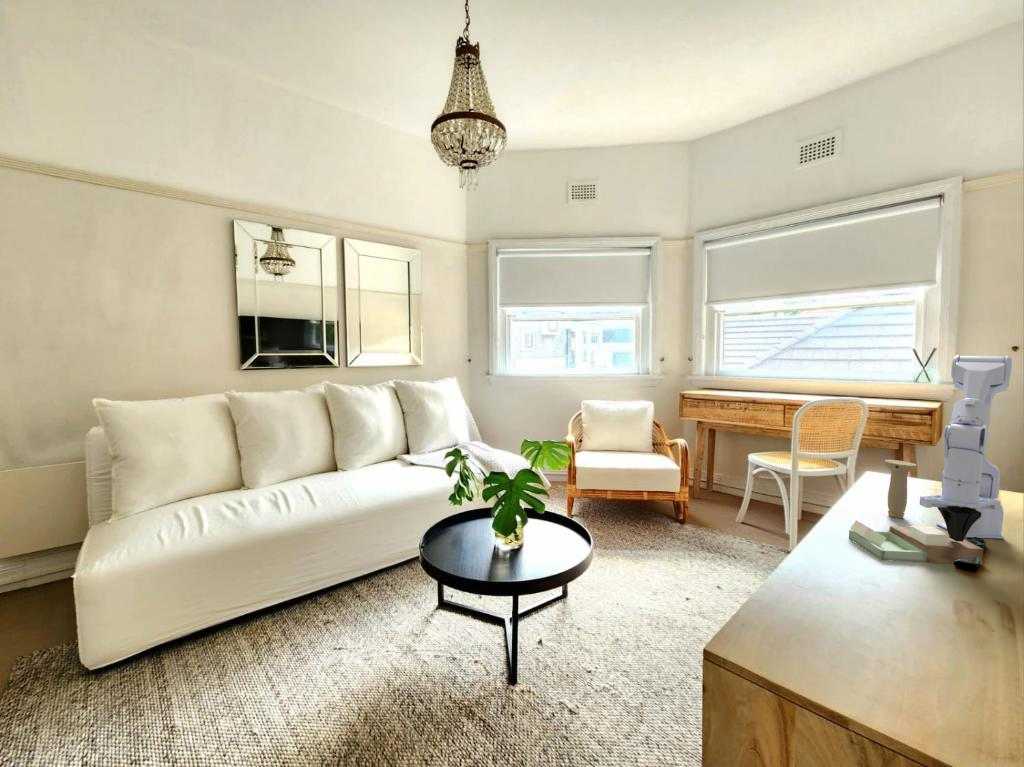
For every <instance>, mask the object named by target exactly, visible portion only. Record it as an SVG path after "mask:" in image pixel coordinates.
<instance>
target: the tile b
mask: <svg viewBox="0 0 1024 767" xmlns="http://www.w3.org/2000/svg"><path fill="white" fill-rule="evenodd" d="M909 527H910V537H912V538H914V539H915V540H917V541H919V542H921V543H923V544H924V545H933V546H948V545H949V535H948V534H946V533H944V532H942V531H940V530H938V529H936V528H937V527H934V526H929V525H928V526H927V525H910V526H909Z"/></svg>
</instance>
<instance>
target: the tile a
mask: <svg viewBox="0 0 1024 767" xmlns="http://www.w3.org/2000/svg"><path fill="white" fill-rule="evenodd" d="M849 530H853V531H854V532H856V533H857V534H859V535H861V536H862V537H864V538H866V539H867V540H869V541H871V542H872V543H874V544H876V545H878V546H879V547H880V546H881V545H882V544H883V542H884V541H885V540H886V537H884V536H882V535H881V534H879V533H877V532H876V531H877V530H874V529H873V528H870V527H868V526H867V525H866V524H863V523H862V522H861V521H858V520H855V521H854V523H853V524H852V525H851V526H850V529H849Z"/></svg>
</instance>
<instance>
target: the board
mask: <svg viewBox="0 0 1024 767" xmlns="http://www.w3.org/2000/svg"><path fill="white" fill-rule="evenodd" d="M935 528H936V529H938V530H940V531H942V532H944V533H946V534H948V530H947V529H945V528H943V527H935ZM889 531H890V532H892V533H894V534H895V535H897V536H899V537H901V538H902V539H904V540H906V541H908V542H909V543H911V544H913V545H915V546H916V547H918V548H920V549H921V550H923V551H925V552H927V555H926V562H925V563H930V564H931V563H933V564H934V563H935V564H936V563H937V564H954V563H953V562H954V561H955V560H958V559H963V558H968V557H979V561H980V565H981V566H982V565H983V558H984V548H983V547H980V546H978V545H976V544H974V543H972V542H971V541H968V540H966V539H964V541H963V542H962V541H955V540H953V539H951V538H949V545H948V546H933V545H924V544H923V543H921V542H919V541H917V540H915V539H914V538H912V537H910V526H899V525H898V526H897V525H895V526H894V525H890V526H889Z"/></svg>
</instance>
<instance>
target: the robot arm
mask: <svg viewBox="0 0 1024 767" xmlns="http://www.w3.org/2000/svg"><path fill="white" fill-rule="evenodd" d="M1012 363H1013V358H1012V357H1010V355H1005V356H1004V355H1003V356H1001V355H1000V356H999V355H991V356H990V355H960V354H957V355H955V356H954V357H953V358H952V362H951V372H950V376H951V379H952V383H953V384H952V385H954V389H957V390H960V391H962V399H959V400H957V401H956V402H955V403H954V404H953V407H952V408H953V409H952V413H951V416H950V421H949V425H948V424H947V425H945V426H944V427H945V428H944V430H943V435H942V436H943V438H942V444H943V457H944V463H943V464H944V468H943V471H942V476H941V477H942V478H941V494H935V495H925V496H919V506H921V507H923V508H926V509H927V508H928V509H931V508H937V510H938V511H939V512H940V514H941V516H942V518H943V520H944V522H936V526H938V527H940V528H942V529H944V530H946V531H948V535H949V538H951V539H953V540H955V541H962V542H963V541H964V540H966V538H974V537H977V538H980V539H1005V536H1004V535H1002V532H1003V521H1004V509H1003V507H1002V503H1001V501H1000V500H998V498H999V494H1000V484H1001V476H1000V475H1001V470H999V467H998V466H996V465H994V463H992V462H990V461H989V460H987V459H986V456H987V449H988V444H989V443H988V442H989V441H988V440H989V427H990V418H991V408H992V402H993V399H994V397H995V396H996V394H998V393H1002V392H1006V391H1007V389H1008V388H1009V386H1010V380H1011V373H1012ZM982 471H983V472H982ZM986 472H987V473H986Z"/></svg>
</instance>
